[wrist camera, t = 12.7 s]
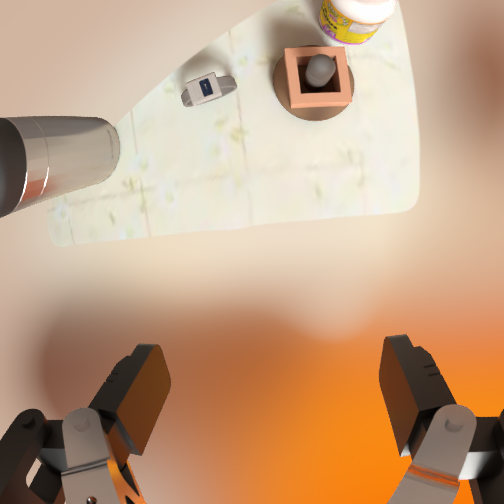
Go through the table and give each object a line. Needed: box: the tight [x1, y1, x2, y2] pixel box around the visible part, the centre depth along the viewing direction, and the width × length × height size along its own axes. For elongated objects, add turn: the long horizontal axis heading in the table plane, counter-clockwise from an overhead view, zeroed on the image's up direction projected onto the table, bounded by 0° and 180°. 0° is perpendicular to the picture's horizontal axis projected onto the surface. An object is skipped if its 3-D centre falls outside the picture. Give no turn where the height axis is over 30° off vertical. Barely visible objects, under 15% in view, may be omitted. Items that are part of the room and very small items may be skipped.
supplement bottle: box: [319, 0, 396, 46], centre depth 22 cm, size 7×7×13 cm
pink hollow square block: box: [285, 47, 352, 108], centre depth 28 cm, size 6×6×4 cm
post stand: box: [273, 45, 354, 121], centre depth 27 cm, size 9×9×10 cm
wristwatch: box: [181, 72, 237, 107], centre depth 31 cm, size 6×3×5 cm, turn 109°
